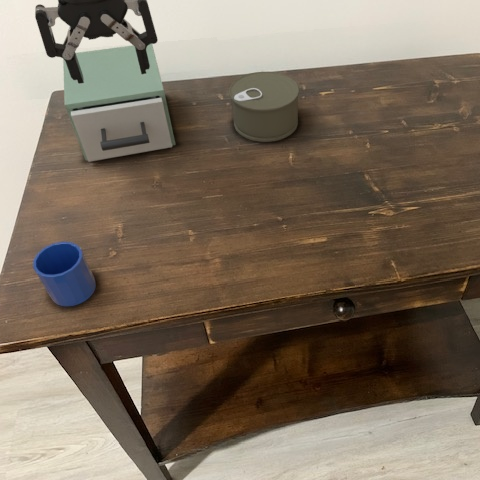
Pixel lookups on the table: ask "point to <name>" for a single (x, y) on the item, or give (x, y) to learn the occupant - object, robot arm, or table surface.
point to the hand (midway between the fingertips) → (112, 75)
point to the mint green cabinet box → (113, 81)
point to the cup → (65, 273)
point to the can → (265, 106)
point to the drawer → (122, 128)
